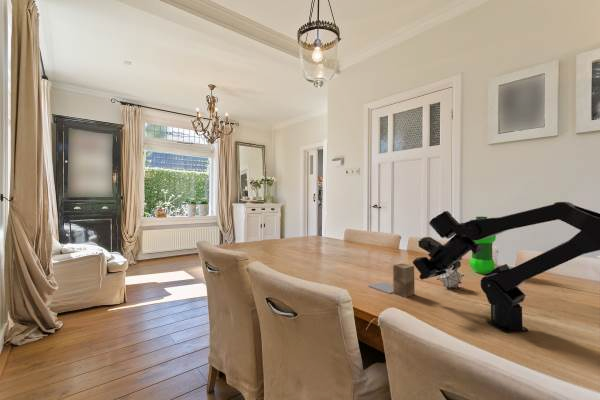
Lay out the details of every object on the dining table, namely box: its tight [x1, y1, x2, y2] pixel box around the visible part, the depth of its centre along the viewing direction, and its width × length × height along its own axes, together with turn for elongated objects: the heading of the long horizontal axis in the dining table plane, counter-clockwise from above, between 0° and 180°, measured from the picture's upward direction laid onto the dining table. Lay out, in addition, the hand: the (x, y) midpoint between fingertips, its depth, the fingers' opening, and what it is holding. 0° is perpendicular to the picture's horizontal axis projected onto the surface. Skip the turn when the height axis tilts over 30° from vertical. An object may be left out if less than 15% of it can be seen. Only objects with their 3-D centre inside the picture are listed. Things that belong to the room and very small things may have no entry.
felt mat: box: [368, 281, 394, 295], centre depth 105 cm, size 10×8×1 cm
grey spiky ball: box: [436, 267, 465, 290], centre depth 103 cm, size 9×8×10 cm
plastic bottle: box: [469, 216, 497, 275], centre depth 124 cm, size 10×10×25 cm
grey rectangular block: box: [392, 263, 415, 298], centre depth 98 cm, size 5×5×10 cm
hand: (420, 278), depth 92 cm, fingers closed
